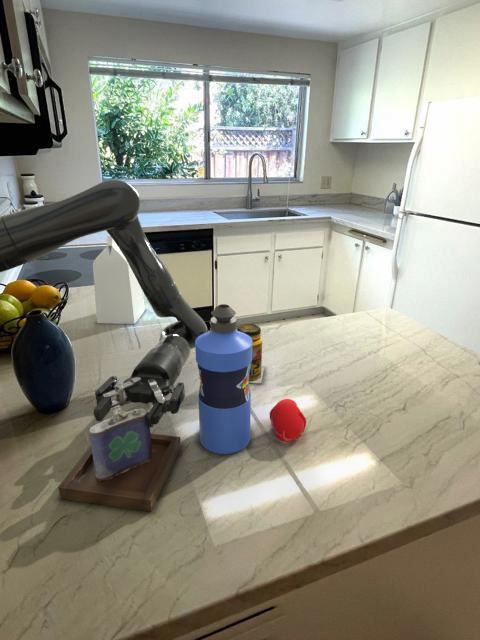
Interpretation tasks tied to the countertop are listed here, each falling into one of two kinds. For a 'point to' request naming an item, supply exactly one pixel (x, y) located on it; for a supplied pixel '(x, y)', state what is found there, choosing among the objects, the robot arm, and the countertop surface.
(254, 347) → the condiment
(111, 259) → the milk
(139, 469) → the tray
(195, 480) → the countertop surface
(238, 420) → the water bottle
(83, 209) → the robot arm
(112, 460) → the flask
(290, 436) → the cap
